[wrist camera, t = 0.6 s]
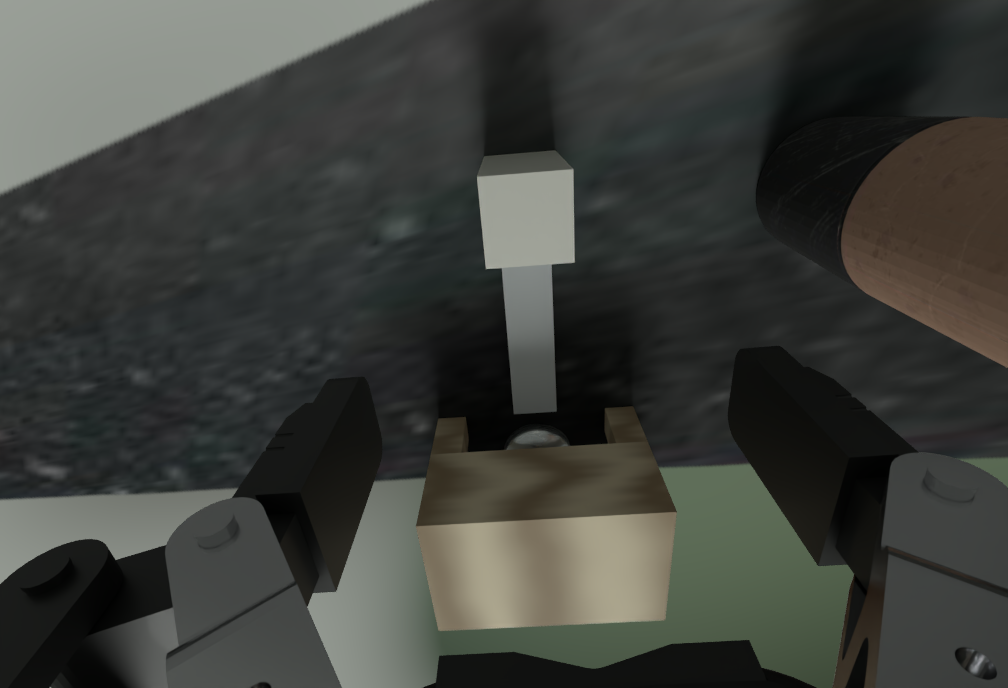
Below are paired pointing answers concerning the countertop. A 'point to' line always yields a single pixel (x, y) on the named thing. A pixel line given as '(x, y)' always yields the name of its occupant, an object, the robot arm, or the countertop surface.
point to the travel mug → (902, 215)
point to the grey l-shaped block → (528, 260)
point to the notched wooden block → (546, 531)
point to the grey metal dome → (536, 437)
